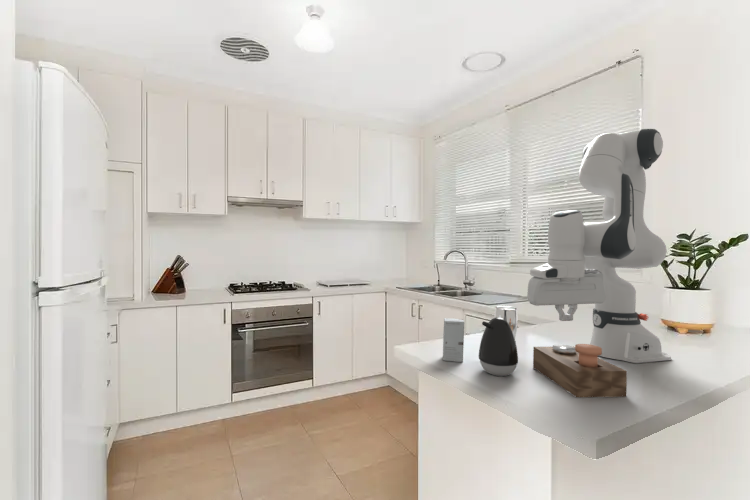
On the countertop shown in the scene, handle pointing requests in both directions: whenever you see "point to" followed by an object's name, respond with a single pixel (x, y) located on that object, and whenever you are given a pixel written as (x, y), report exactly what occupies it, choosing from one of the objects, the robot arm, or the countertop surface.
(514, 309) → the beer glass
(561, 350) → the steel plunger
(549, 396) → the countertop surface
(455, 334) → the skincare box
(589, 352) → the terracotta plunger
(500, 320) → the pump dispenser
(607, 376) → the walnut block
